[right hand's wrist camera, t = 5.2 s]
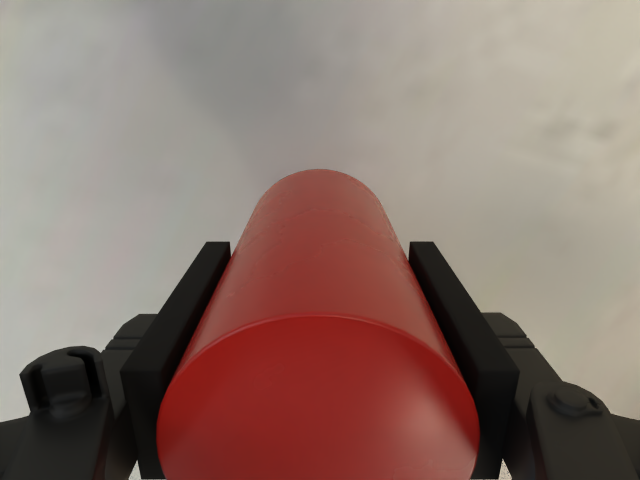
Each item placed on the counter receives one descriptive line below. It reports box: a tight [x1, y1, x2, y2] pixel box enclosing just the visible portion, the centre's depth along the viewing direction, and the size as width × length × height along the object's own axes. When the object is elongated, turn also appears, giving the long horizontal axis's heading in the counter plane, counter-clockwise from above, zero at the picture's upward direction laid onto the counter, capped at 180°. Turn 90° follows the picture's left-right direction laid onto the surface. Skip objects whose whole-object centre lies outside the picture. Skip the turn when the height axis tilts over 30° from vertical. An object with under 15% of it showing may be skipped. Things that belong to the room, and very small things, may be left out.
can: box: [156, 169, 480, 480], centre depth 13 cm, size 6×6×11 cm
